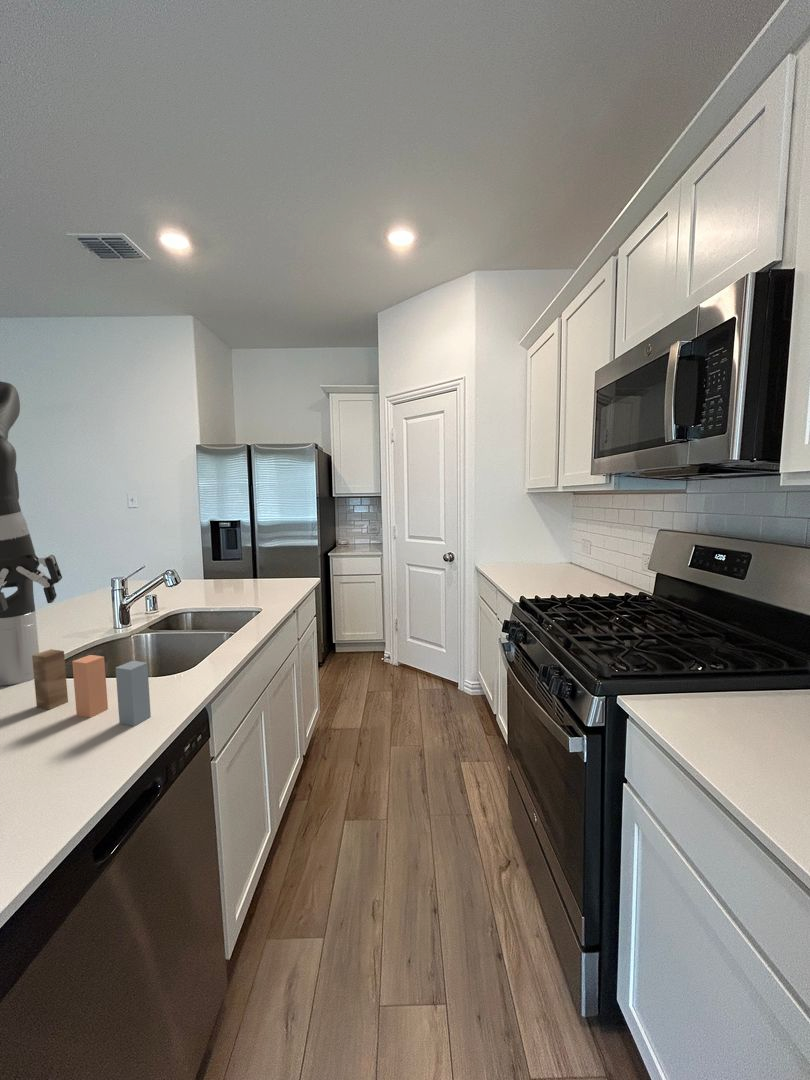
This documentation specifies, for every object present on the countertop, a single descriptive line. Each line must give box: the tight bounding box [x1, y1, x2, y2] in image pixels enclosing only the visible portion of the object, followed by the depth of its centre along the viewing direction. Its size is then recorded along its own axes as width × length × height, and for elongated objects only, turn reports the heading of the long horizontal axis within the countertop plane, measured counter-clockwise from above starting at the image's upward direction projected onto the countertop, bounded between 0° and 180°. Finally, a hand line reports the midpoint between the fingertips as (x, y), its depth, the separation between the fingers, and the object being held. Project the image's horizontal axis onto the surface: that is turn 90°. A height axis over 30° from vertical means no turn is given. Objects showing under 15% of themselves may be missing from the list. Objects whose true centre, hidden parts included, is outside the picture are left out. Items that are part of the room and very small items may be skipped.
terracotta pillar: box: [72, 654, 109, 718], centre depth 96 cm, size 4×4×12 cm
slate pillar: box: [115, 660, 152, 727], centre depth 93 cm, size 4×4×12 cm
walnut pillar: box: [32, 648, 69, 711], centre depth 100 cm, size 4×4×12 cm
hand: (28, 605), depth 98 cm, fingers open, 8 cm apart
